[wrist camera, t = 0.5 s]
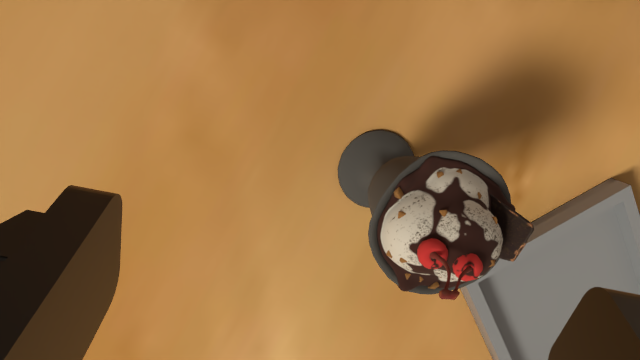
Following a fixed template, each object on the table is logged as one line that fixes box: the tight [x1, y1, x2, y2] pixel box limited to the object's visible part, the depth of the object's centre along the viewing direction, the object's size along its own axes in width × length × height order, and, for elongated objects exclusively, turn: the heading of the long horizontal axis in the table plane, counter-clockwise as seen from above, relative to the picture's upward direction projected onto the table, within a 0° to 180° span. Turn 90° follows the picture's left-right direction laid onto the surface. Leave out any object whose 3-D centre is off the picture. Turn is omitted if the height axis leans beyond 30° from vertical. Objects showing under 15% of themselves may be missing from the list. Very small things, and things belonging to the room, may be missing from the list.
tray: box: [460, 178, 640, 360], centre depth 37 cm, size 13×13×2 cm
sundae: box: [338, 130, 534, 300], centre depth 26 cm, size 7×7×15 cm
